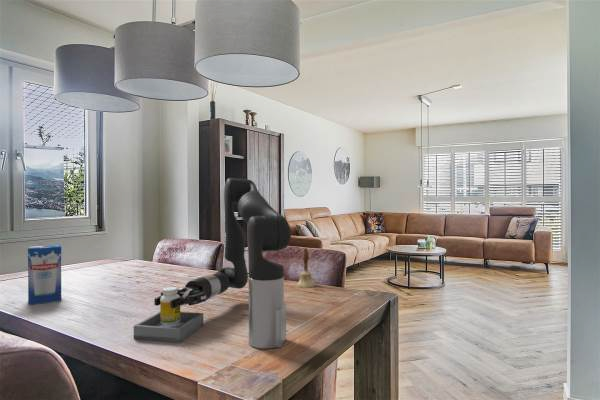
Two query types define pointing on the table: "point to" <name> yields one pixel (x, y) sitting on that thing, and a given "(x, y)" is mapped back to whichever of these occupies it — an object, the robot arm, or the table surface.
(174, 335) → the tray
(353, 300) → the table surface
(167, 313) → the supplement bottle
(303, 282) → the hand bell
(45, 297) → the milk carton
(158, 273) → the table surface
